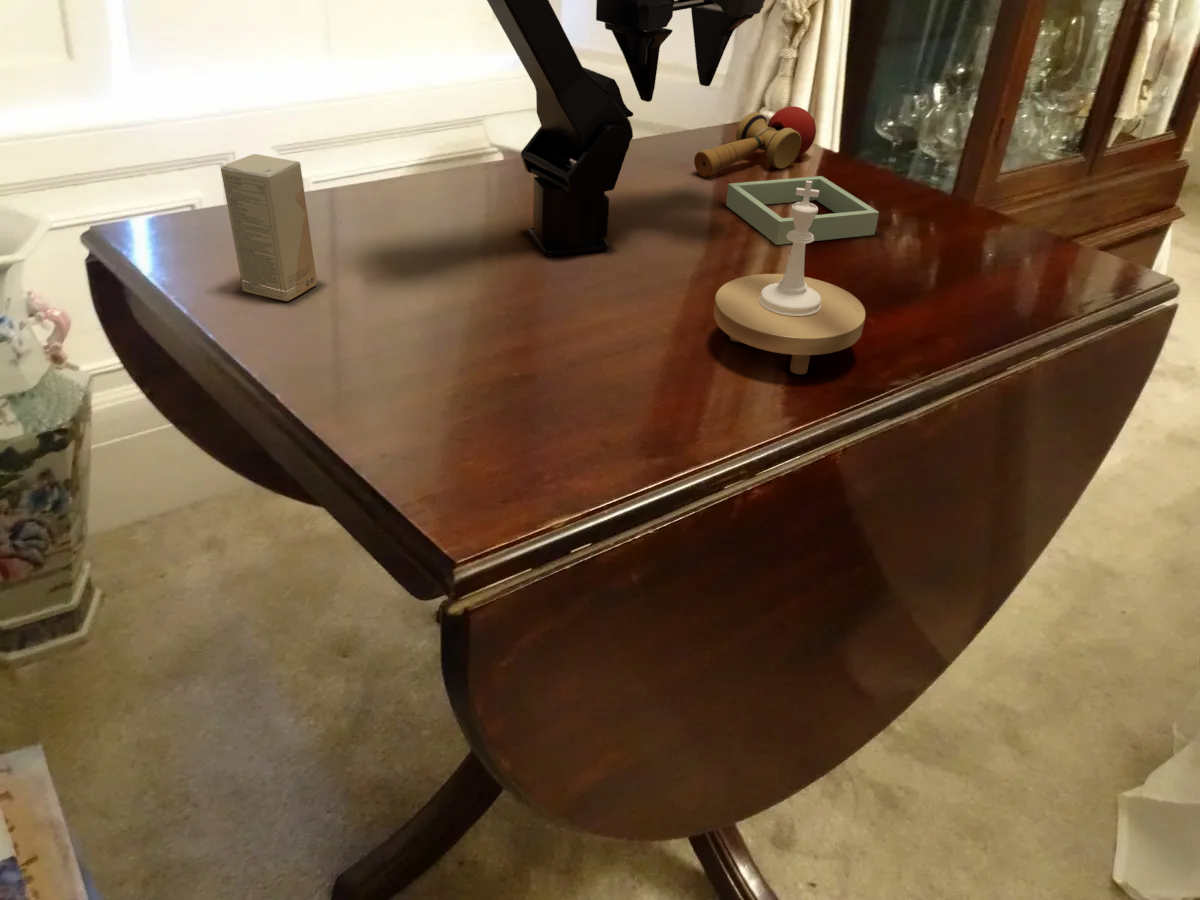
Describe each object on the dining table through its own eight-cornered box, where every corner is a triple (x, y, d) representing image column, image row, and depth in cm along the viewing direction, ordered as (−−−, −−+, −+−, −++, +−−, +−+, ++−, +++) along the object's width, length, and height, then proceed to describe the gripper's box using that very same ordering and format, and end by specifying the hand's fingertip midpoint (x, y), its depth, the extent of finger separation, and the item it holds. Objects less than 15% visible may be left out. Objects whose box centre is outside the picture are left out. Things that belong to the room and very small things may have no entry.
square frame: (776, 245, 104) (779, 221, 103) (725, 205, 113) (728, 183, 112) (874, 235, 108) (879, 211, 106) (818, 197, 117) (821, 175, 115)
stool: (789, 399, 78) (797, 352, 76) (680, 340, 86) (684, 295, 84) (886, 356, 85) (896, 312, 83) (777, 304, 92) (783, 262, 90)
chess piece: (819, 320, 81) (842, 195, 75) (756, 312, 82) (774, 188, 76) (821, 294, 85) (842, 175, 79) (761, 287, 86) (778, 168, 80)
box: (319, 285, 91) (304, 161, 85) (287, 303, 88) (270, 176, 82) (271, 273, 93) (254, 151, 87) (238, 290, 90) (218, 164, 84)
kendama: (730, 198, 119) (834, 151, 127) (724, 143, 116) (830, 99, 124) (684, 190, 125) (786, 146, 133) (677, 138, 121) (782, 96, 130)
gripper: (698, -68, 83) (681, 129, 91) (823, -81, 95) (798, 94, 103) (595, -83, 89) (588, 102, 97) (724, -94, 101) (708, 72, 109)
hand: (676, 93), depth 102 cm, fingers open, 9 cm apart
